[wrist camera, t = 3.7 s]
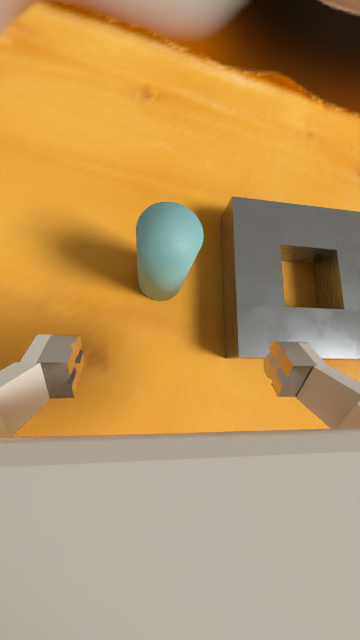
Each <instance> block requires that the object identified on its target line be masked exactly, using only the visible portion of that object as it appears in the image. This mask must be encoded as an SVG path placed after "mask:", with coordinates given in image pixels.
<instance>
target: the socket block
mask: <svg viewBox="0 0 360 640" xmlns="http://www.w3.org/2000/svg"><path fill="white" fill-rule="evenodd" d="M221 218H222V253H223V287H224V321H225V355H226V358H229V359H265V357H266V356H267V355H268V354H269V353H270V349H269V347H270V345H271V343H272V342H273V341H280V342H307V343H309V344H310V345H311V347H312V348H313V349H314V350H315V351H316V352H317V354H318V355H319V356H320V357H321V358H322V359H323V360H360V212H356V211H348V210H339V209H331V208H323V207H315V206H306V205H298V204H290V203H282V202H273V201H265V200H257V199H248V198H240V197H232V198H231V200H230V202H229V204H228V206H227V208H226V210H225V211H224V213H223V215H222V217H221ZM281 261H290V262H303V263H314V268H315V278H316V287H317V296H318V306H319V308H303V307H285V302H284V289H283V277H282V264H281Z"/></svg>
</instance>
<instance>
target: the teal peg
mask: <svg viewBox="0 0 360 640" xmlns="http://www.w3.org/2000/svg"><path fill="white" fill-rule="evenodd" d="M203 236H204V234H203V228H202V225H201V223H200V221H199V219H198V217H197V216H196V215H195V214H194V213H193V212H192V211H191V210H190V209H188V208H187V207H185V206H183V205H181V204H178V203H174V202H160V203H156V204H154V205H151V206H150V207H148V208H147V209H146V210H144V212H143V213H142V214H141V215H140V217H139V219H138V222H137V226H136V241H137V275H138V285H139V288H140V290H141V291H142V292H143V294H144V295H146V296H147V297H148V298H150V299H152V300H156V301H165V300H169V299H171V298H172V297H174V296H175V295H176V294H177V293H178V292H179V290H180V288H181V286H182V284H183V282H184V280H185V278H186V276H187V274H188V272H189V270H190V268H191V266H192V264H193V262H194V260H195V258H196V256H197V254H198V252H199V250H200V248H201V246H202V243H203Z"/></svg>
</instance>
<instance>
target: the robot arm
mask: <svg viewBox="0 0 360 640" xmlns="http://www.w3.org/2000/svg"><path fill="white" fill-rule="evenodd" d="M81 346H82V340H81V337H80V336H79V335H59V334H38V335H37V336H36V337H35V339H34V340H33V342H32V343H31V345H30V346H29V348H28V349H27V351H26V353H25V354H24V356H23V357H22V359H21V360H20V362H15V363H13V364H11V365H9V366H8V367H6V368H4V369H2V370H0V640H360V382H358V381H356V380H354V379H353V378H351V377H349V376H347V375H346V374H344V373H342V372H340V371H339V370H337V369H335V368H333V367H328V365H327V364H326V363H325V362H324V361H323V359H322V358H321V357H320V356H319V355H318V354H317V352H316V351H315V350H314V349H313V348H312V347H311V345H310V344H309V343H307V342H280V341H273V342H272V343H271V345H270V347H269V349H270V353H269V354H268V355H267V356H266V357H265V360H264V370H265V373H266V375H267V377H269V378H270V379H271V380H272V384H271V385H272V387H273V388H274V390H275V392H276V394H277V396H280V397H296V398H297V399H298V400H299V401H300V402H301V403H303V404H304V405H305V406H306V407H307V408H308V409H309V410H310V411H312V412H313V413H314V414H315V415H316V416H317V417H318V418H320V419H321V420H322V421H323V422H324V423H325V424H326V425H328V426H329V427H330V428H331V429H305V430H270V431H234V432H197V433H161V434H125V435H89V436H53V437H17V438H11V436H12V435H13V434H14V433H15V432H16V431H17V430H18V429H20V428H21V427H22V426H23V425H24V424H25V423H26V422H27V421H28V420H29V419H30V418H31V417H32V416H33V415H34V414H36V413H37V412H38V411H39V410H40V409H41V408H42V407H43V406H44V405H45V404H46V403H47V402H48V401H49V400H50V398H74V396H75V393H76V390H77V387H78V377H80V376H81V375H82V371H83V366H84V354H83V351H81V350H80V348H81Z"/></svg>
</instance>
